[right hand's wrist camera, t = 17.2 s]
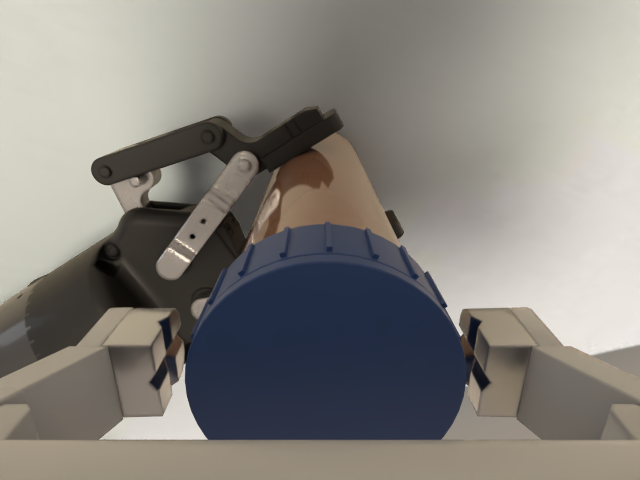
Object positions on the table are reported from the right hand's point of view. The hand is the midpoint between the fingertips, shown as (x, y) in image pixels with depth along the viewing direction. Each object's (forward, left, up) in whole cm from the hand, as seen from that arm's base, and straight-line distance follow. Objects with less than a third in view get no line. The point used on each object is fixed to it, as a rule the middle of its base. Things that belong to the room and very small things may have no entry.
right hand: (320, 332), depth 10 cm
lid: (0, 0, +2) cm, 2 cm away
